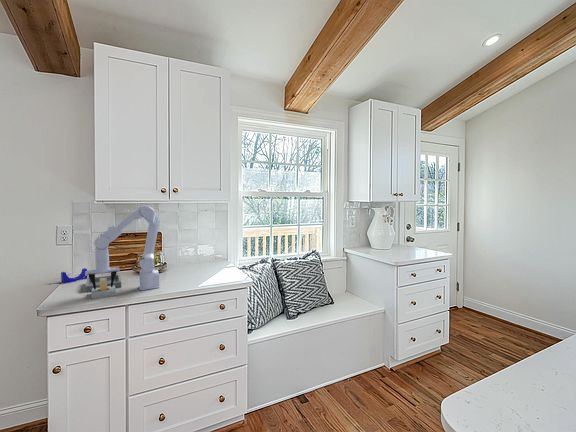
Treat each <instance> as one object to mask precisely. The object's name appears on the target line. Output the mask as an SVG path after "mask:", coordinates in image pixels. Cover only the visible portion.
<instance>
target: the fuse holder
mask: <svg viewBox="0 0 576 432" xmlns="http://www.w3.org/2000/svg"><path fill="white" fill-rule="evenodd" d="M116 294H117V293H116V288H115V286H113V287H111V286H107V290H105V291H100V288H96V289H95V290H94V288H92V291H91V293H90V295H91V297H90V299H91V300H95V299H102V298H106V297H107V298H108V297H114V296H116Z"/></svg>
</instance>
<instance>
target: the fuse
mask: <svg viewBox="0 0 576 432" xmlns="http://www.w3.org/2000/svg"><path fill="white" fill-rule="evenodd" d="M105 290H107V278H100V291H105Z"/></svg>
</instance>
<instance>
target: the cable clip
mask: <svg viewBox="0 0 576 432" xmlns="http://www.w3.org/2000/svg"><path fill="white" fill-rule="evenodd" d="M85 271H88V268H85V267H84V268H81V272H80V274H78V275H77V276H75V277H69V276H68V275H67V272H66V271H61V272H60V276H61V277H60V279H61V283H62V284H65V285H66V284H69V283H74V282H77V281H82V280H87V278H88V276H85Z"/></svg>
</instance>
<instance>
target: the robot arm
mask: <svg viewBox="0 0 576 432" xmlns="http://www.w3.org/2000/svg"><path fill="white" fill-rule="evenodd" d="M142 218H143V219H145V221H146V222H147V223H148V227H147V234H146V239H145V243H144V250H143V253H142V255H141V259H140V260H139V262H138V265H139V268H140V270H139V285H138V288H139V291H145V290H146V291H147V290H151V289H158V288H160V273H159V270H157V269H156V270H155V261H154V260H155V255H154V253H155V248H156V242H157V238H158V231H159V226H160V219H159V217H158V215H157V214H156V210H155V209H154V208H153V207H152V206H150V205H145V204H144V205H140V206H139V207H138V208H136V209H135V210H133V211H131V212H130V213H129V214H128V215H127V216H125V218H124V219H122V220H121V221H120V222H119V223H118V224H117V225H111V226H108V227H107V228H108V229H107V230H106V231H104V232H103V233H100V234H99V236H98V237H96V238H95V240H94V242H93V244H94V246H95V249H94V251H95V252H94V253H95V269H91V270H87V271H85V276H87V277H88V278H89V279H90V280H91V282H92V284H93V286H94V290H95V289H96V283H95V277H96V275H102V274H110V276H111V287H113V282H114V279H115V276H116V275H118V274H117V273H120V267H110V253H109V245H110V243H112V242H113V241H114V240H116V239H117V238H118V237H119V236H121V235H122V232H123V230H124V229H125V228H126V227H127V226H129V225H130V224H131V223H132V222H134V221H135V220H139V219H142Z"/></svg>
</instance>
